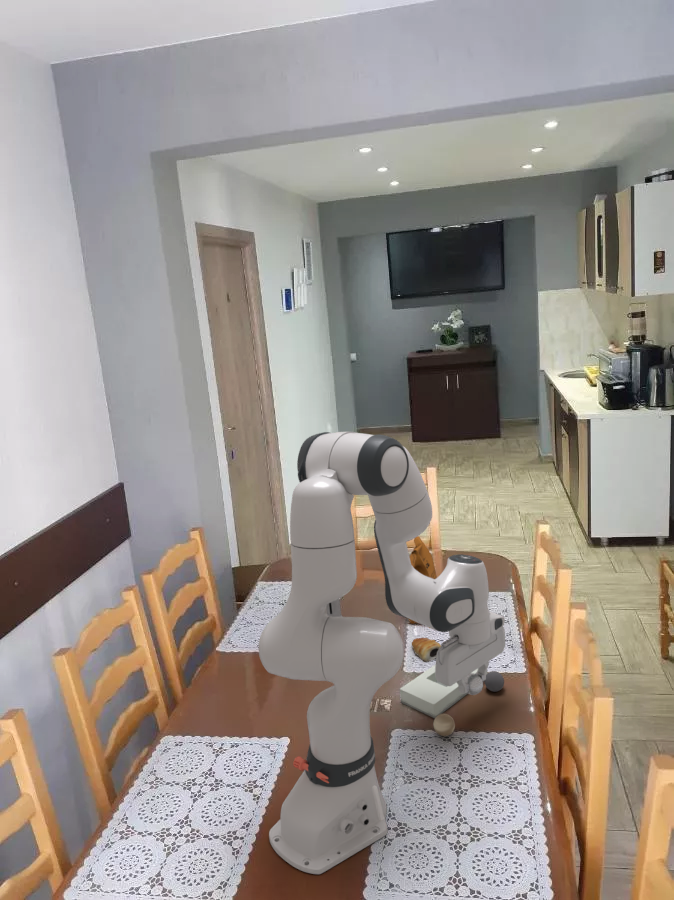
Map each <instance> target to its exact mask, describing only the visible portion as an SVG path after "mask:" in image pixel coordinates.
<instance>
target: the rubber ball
mask: <svg viewBox="0 0 674 900" xmlns="http://www.w3.org/2000/svg"><path fill="white" fill-rule="evenodd" d="M483 683H484V685H485V687H486V689H488V690H489V691H491V692H495V693H496V692H499V691H500V690H502V689H503V688H504V685H505V679H504V676H503V674H502V673H500V672H499V671H495V670H491V671H489V672H487V674H486V680H484V682H483Z"/></svg>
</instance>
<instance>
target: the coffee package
mask: <svg viewBox="0 0 674 900" xmlns="http://www.w3.org/2000/svg"><path fill="white" fill-rule="evenodd" d="M413 543H414V545H415V547H414V548H413V550H412V551H411V553H410V554H409V557H410V561H411V565H412V566H413V568H414V569H416V570H417V571H418V572H419V573H421V574H423V575H425V576H427V577H430V578H432V579H436V578H437V577H438V576H437V572H436V569H435V564H434V559H433V558H434V557H433V555H432V553H431V552H430V549H429V548H428V547H427V546H426V544H425V543H424V542H423V540H422V539H421V537H420V535H419V536H417V537H416V538H414V539H413ZM407 620H408V622H409V623H410V624H413V625H414V624H418V625H421V624H420V623H417V622H415V621H413V620H411V619H408V618H407Z"/></svg>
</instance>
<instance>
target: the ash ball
mask: <svg viewBox="0 0 674 900" xmlns="http://www.w3.org/2000/svg"><path fill="white" fill-rule="evenodd" d="M433 719H434V720H433V724H432V725H433V730H434V731H435V733H436V734H437V735H439V736H441V737H448V736H451V735H452V734H453V732H454V731H455V727H456V724H455V723H456V722H455V720H454V718H453V717H452V716H451V715H450V714H447V713H442V714H439V715H438V716H437V717H436V718H433Z"/></svg>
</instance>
